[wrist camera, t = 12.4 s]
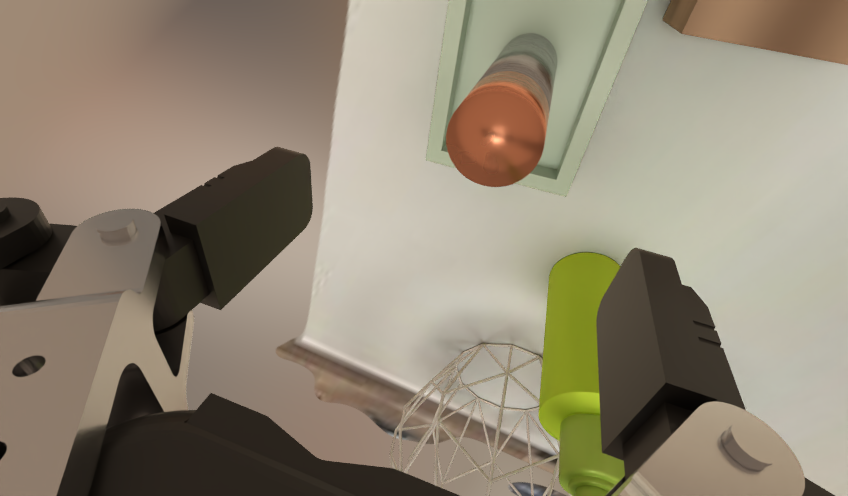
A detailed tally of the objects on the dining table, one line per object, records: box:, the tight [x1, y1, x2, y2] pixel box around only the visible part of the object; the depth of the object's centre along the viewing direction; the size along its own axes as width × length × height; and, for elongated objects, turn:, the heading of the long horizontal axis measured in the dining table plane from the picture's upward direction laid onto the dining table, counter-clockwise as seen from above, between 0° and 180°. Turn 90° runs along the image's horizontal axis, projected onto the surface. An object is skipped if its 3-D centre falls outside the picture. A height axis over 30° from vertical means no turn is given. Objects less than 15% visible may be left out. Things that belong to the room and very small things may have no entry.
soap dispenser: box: [539, 252, 625, 496], centre depth 25 cm, size 6×7×20 cm
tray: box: [426, 0, 648, 197], centre depth 24 cm, size 10×14×2 cm
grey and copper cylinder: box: [446, 33, 557, 187], centre depth 19 cm, size 4×4×13 cm
